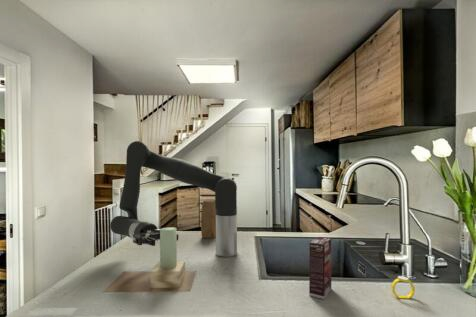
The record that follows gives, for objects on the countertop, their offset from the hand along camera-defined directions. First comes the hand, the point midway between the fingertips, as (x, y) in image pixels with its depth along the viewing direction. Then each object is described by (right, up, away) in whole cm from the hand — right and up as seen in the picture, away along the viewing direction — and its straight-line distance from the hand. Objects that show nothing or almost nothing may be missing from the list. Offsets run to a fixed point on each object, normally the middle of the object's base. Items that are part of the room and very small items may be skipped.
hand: (166, 240), depth 93 cm
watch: (+72, -14, -10) cm, 74 cm away
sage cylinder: (+1, -8, -1) cm, 8 cm away
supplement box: (+49, -14, -7) cm, 52 cm away
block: (+8, -16, +61) cm, 63 cm away
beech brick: (+1, -13, -1) cm, 13 cm away
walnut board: (-4, -14, 0) cm, 15 cm away
